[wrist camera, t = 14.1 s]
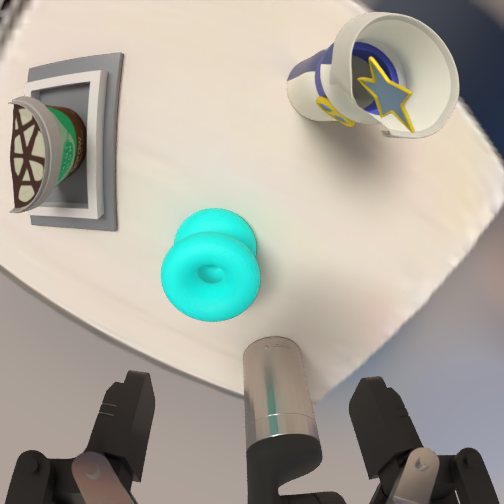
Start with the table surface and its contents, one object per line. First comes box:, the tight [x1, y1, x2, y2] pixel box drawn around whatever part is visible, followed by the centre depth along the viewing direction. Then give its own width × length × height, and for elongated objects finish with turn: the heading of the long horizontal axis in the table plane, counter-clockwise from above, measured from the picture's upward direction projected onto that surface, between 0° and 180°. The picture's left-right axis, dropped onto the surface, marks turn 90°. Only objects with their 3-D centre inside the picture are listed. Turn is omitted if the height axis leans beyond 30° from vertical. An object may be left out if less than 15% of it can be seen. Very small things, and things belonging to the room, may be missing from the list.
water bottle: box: [287, 12, 459, 138], centre depth 18 cm, size 8×9×25 cm
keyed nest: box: [24, 52, 123, 231], centre depth 29 cm, size 22×14×3 cm, turn 173°
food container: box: [8, 96, 87, 213], centre depth 25 cm, size 12×6×10 cm, turn 170°
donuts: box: [161, 209, 260, 322], centre depth 33 cm, size 10×10×10 cm
